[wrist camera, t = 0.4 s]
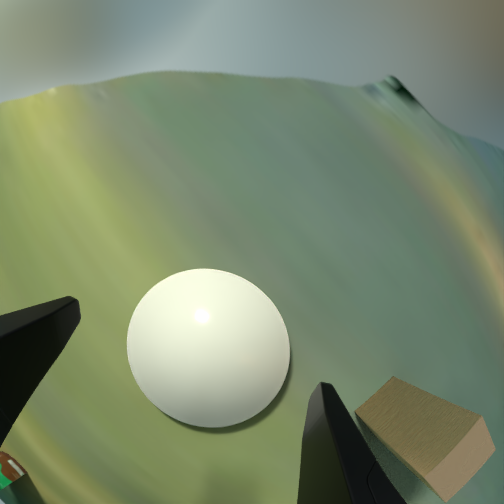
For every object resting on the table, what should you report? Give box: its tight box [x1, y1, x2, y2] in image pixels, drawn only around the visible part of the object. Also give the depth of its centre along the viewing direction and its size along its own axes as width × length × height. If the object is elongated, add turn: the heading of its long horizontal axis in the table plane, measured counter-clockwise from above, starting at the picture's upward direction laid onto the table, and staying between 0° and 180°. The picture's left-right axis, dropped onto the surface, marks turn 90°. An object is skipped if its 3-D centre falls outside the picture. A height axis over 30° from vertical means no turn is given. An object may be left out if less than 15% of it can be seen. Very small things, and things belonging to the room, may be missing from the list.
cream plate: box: [127, 269, 290, 427], centre depth 23 cm, size 14×14×1 cm
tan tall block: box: [355, 376, 496, 503], centre depth 16 cm, size 5×5×13 cm
